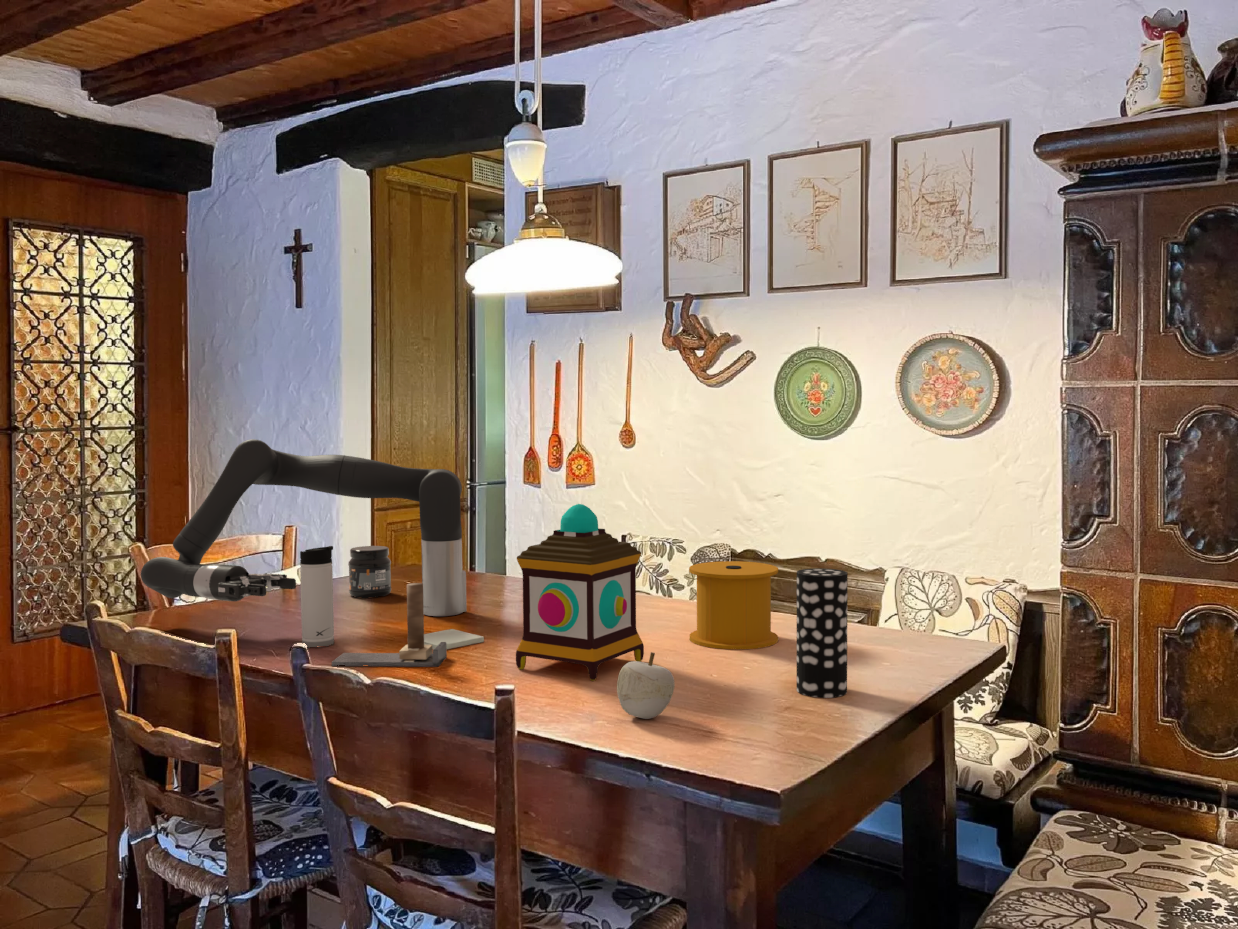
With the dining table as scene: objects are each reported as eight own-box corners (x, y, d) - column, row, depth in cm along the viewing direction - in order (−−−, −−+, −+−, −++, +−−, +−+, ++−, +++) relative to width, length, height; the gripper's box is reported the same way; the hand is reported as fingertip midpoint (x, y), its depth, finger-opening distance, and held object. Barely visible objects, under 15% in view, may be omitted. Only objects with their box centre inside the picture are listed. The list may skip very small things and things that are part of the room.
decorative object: (608, 722, 159) (608, 657, 158) (628, 707, 167) (628, 645, 167) (664, 728, 156) (663, 662, 155) (681, 712, 164) (681, 649, 163)
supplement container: (358, 590, 274) (357, 545, 273) (397, 591, 272) (396, 545, 271) (342, 598, 263) (341, 550, 262) (382, 599, 262) (381, 551, 261)
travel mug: (326, 648, 209) (324, 548, 208) (296, 647, 210) (293, 548, 209) (341, 641, 215) (338, 544, 214) (311, 640, 216) (309, 543, 215)
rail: (331, 666, 195) (331, 650, 195) (343, 656, 202) (343, 641, 202) (438, 666, 194) (438, 650, 193) (446, 657, 201) (446, 642, 200)
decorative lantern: (595, 685, 180) (594, 511, 179) (504, 670, 191) (502, 506, 189) (654, 660, 197) (653, 501, 195) (567, 648, 208) (566, 497, 206)
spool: (678, 646, 209) (678, 571, 208) (702, 627, 226) (702, 558, 225) (767, 652, 203) (767, 575, 202) (785, 633, 220) (786, 562, 219)
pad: (451, 633, 222) (451, 628, 222) (483, 641, 214) (483, 636, 214) (407, 642, 214) (407, 637, 214) (439, 650, 206) (439, 645, 206)
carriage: (399, 659, 195) (398, 586, 194) (406, 652, 200) (405, 582, 199) (426, 659, 195) (424, 586, 194) (432, 653, 200) (431, 582, 199)
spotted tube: (791, 685, 179) (791, 568, 178) (838, 683, 180) (839, 567, 179) (803, 698, 171) (804, 576, 170) (853, 697, 172) (854, 575, 171)
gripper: (194, 569, 216) (254, 574, 210) (246, 560, 229) (303, 564, 222) (195, 605, 217) (255, 611, 210) (247, 594, 230) (304, 599, 223)
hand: (280, 587), depth 216 cm, fingers open, 8 cm apart
